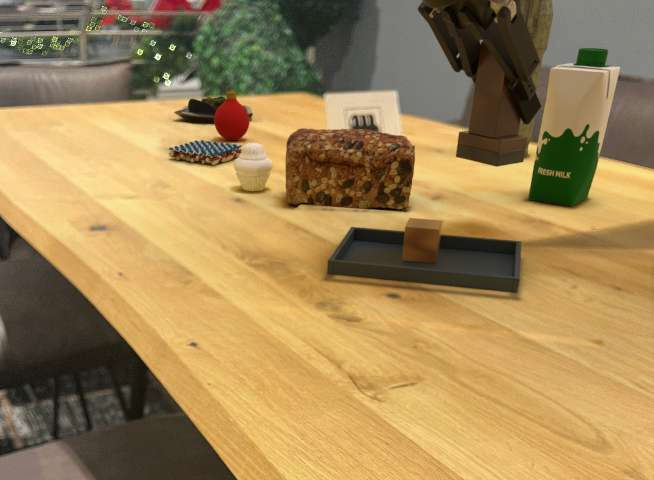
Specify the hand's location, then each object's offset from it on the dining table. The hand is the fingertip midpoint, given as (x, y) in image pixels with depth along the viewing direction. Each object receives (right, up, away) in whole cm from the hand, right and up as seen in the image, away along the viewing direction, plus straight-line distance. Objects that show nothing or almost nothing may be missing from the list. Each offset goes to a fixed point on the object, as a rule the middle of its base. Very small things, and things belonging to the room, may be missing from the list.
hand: (516, 111), depth 97 cm
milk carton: (+13, -3, +22) cm, 26 cm away
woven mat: (-43, +14, +44) cm, 64 cm away
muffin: (-34, 0, +26) cm, 43 cm away
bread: (-20, -4, +20) cm, 28 cm away
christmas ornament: (-40, +24, +59) cm, 75 cm away
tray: (-13, -22, -6) cm, 25 cm away
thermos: (+13, +17, +50) cm, 54 cm away
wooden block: (-13, -20, -4) cm, 24 cm away
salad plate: (-45, +39, +80) cm, 100 cm away
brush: (-3, -6, +1) cm, 6 cm away
